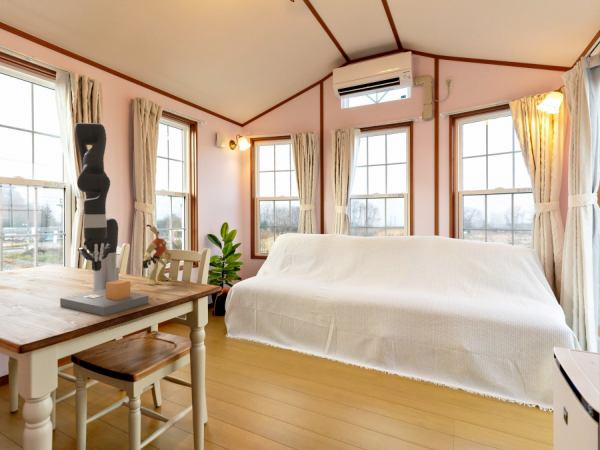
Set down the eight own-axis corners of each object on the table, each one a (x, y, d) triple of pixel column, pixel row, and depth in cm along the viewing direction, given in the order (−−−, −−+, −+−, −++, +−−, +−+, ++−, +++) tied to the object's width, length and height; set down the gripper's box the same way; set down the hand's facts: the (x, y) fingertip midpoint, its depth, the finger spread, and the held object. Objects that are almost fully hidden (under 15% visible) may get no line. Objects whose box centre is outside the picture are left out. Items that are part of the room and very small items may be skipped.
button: (96, 302, 127) (96, 295, 127) (101, 303, 125) (101, 296, 125) (88, 304, 124) (88, 296, 124) (93, 305, 122) (93, 297, 122)
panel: (106, 295, 139) (106, 287, 139) (148, 303, 128) (148, 294, 128) (60, 306, 123) (60, 296, 122) (103, 315, 111) (103, 305, 111)
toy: (149, 288, 152) (149, 225, 150) (133, 288, 153) (132, 225, 152) (176, 279, 174) (176, 224, 173) (161, 278, 176) (161, 223, 175)
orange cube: (120, 294, 129) (120, 279, 128) (130, 296, 126) (130, 281, 126) (105, 298, 123) (105, 282, 123) (116, 300, 121) (116, 284, 120)
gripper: (105, 224, 131) (106, 266, 132) (71, 226, 119) (72, 272, 120) (117, 225, 128) (119, 268, 129) (84, 227, 116) (85, 274, 117)
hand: (96, 270), depth 125 cm, fingers closed
